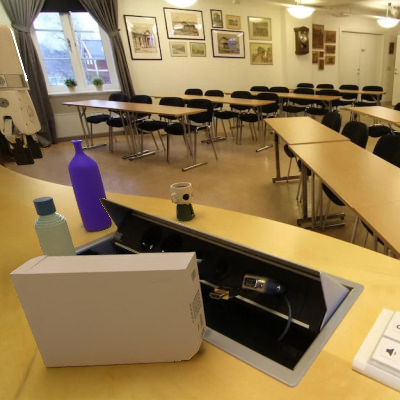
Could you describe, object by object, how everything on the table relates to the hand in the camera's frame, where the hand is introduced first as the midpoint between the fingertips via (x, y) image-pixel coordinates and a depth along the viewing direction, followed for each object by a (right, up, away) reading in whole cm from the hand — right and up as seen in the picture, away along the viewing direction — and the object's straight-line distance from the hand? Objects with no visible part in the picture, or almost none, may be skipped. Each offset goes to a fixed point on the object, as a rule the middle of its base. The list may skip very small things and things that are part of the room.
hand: (30, 160), depth 78 cm
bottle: (-6, -19, +33) cm, 39 cm away
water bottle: (0, -28, +11) cm, 30 cm away
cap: (0, -13, +5) cm, 14 cm away
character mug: (+21, -17, +41) cm, 49 cm away
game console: (+35, -39, -17) cm, 55 cm away
